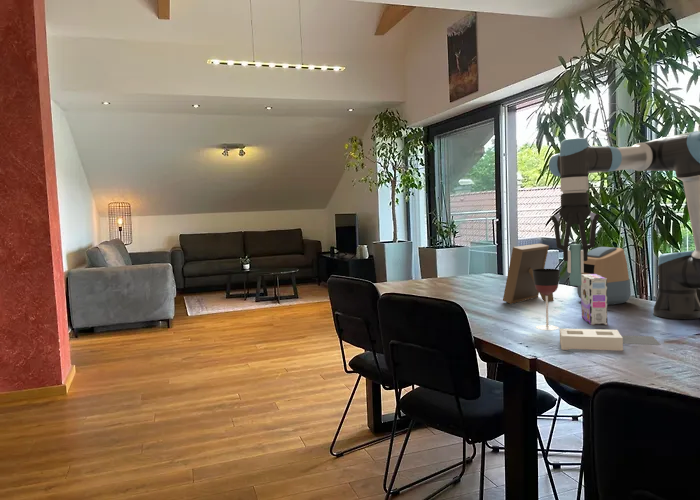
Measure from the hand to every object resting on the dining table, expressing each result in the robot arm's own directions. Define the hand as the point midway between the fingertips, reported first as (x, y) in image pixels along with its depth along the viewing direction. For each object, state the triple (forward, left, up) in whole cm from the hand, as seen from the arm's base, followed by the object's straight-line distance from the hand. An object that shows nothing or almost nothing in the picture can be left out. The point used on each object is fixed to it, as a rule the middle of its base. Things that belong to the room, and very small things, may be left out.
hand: (575, 272), depth 154 cm
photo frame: (+12, -77, -22) cm, 81 cm away
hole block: (-4, 0, -22) cm, 22 cm away
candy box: (-9, -36, -22) cm, 43 cm away
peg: (0, 0, -4) cm, 4 cm away
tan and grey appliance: (-17, -76, -22) cm, 81 cm away
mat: (-18, -8, -22) cm, 29 cm away
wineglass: (+7, -24, -22) cm, 34 cm away
